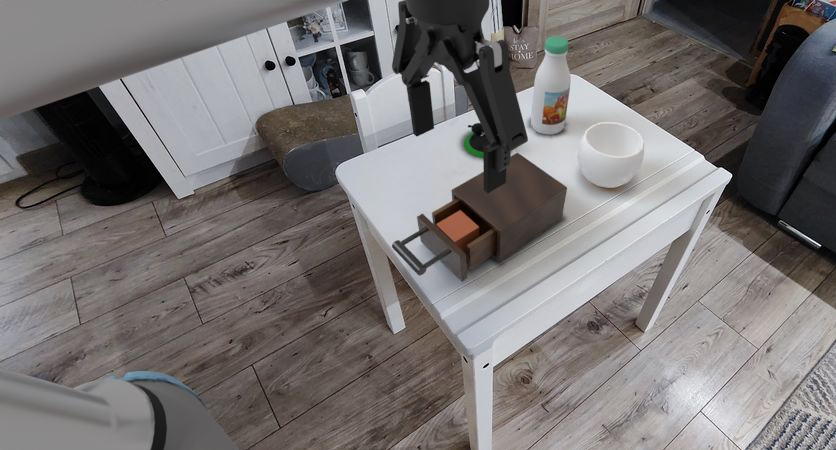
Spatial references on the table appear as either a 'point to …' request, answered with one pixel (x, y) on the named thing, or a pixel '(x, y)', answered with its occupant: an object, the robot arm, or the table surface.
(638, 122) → the table surface
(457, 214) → the block
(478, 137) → the toy figurine
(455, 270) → the drawer
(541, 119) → the milk bottle
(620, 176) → the cup
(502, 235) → the cabinet
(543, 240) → the table surface
